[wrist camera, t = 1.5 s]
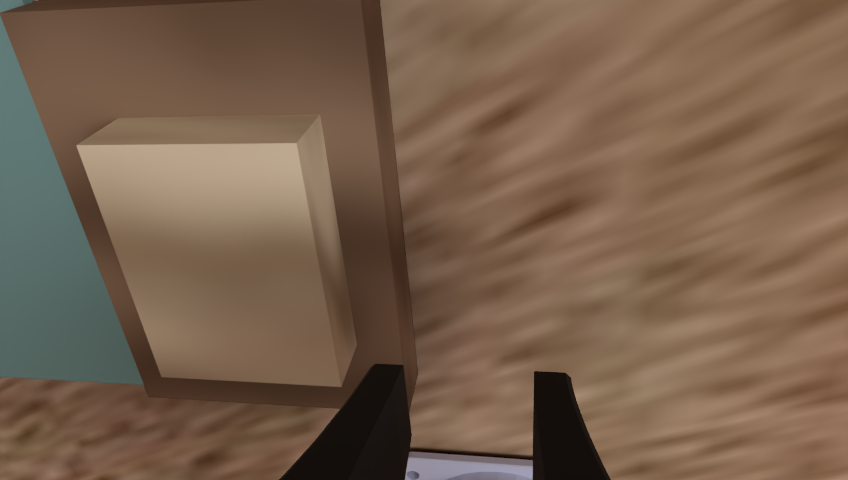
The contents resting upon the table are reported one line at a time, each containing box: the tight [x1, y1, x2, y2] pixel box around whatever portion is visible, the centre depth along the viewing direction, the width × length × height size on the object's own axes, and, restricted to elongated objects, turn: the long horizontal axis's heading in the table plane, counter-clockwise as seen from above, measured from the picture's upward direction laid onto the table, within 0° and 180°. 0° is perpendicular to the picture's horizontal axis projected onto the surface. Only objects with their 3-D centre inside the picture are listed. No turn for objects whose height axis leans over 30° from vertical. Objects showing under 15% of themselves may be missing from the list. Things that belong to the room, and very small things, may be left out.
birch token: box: [76, 114, 357, 387], centre depth 19 cm, size 8×6×2 cm
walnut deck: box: [0, 0, 418, 410], centre depth 21 cm, size 14×10×2 cm
